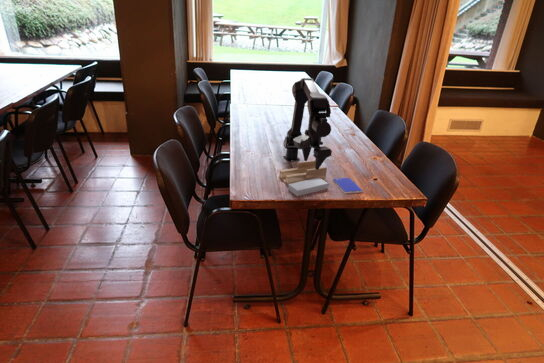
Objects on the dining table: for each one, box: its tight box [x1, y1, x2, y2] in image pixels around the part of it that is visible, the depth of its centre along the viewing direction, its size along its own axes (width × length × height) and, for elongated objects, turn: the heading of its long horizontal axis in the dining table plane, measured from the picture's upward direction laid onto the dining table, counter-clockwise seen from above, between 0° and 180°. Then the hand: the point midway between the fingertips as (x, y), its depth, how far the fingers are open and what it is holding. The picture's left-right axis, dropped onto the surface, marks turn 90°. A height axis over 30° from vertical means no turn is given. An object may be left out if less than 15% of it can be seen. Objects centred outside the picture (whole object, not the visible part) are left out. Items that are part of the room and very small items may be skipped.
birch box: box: [278, 160, 328, 186], centre depth 163 cm, size 9×19×6 cm, turn 115°
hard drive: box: [333, 177, 364, 195], centre depth 159 cm, size 2×8×12 cm
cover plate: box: [287, 177, 329, 197], centre depth 154 cm, size 6×16×3 cm, turn 122°
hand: (311, 165), depth 150 cm, fingers open, 9 cm apart
